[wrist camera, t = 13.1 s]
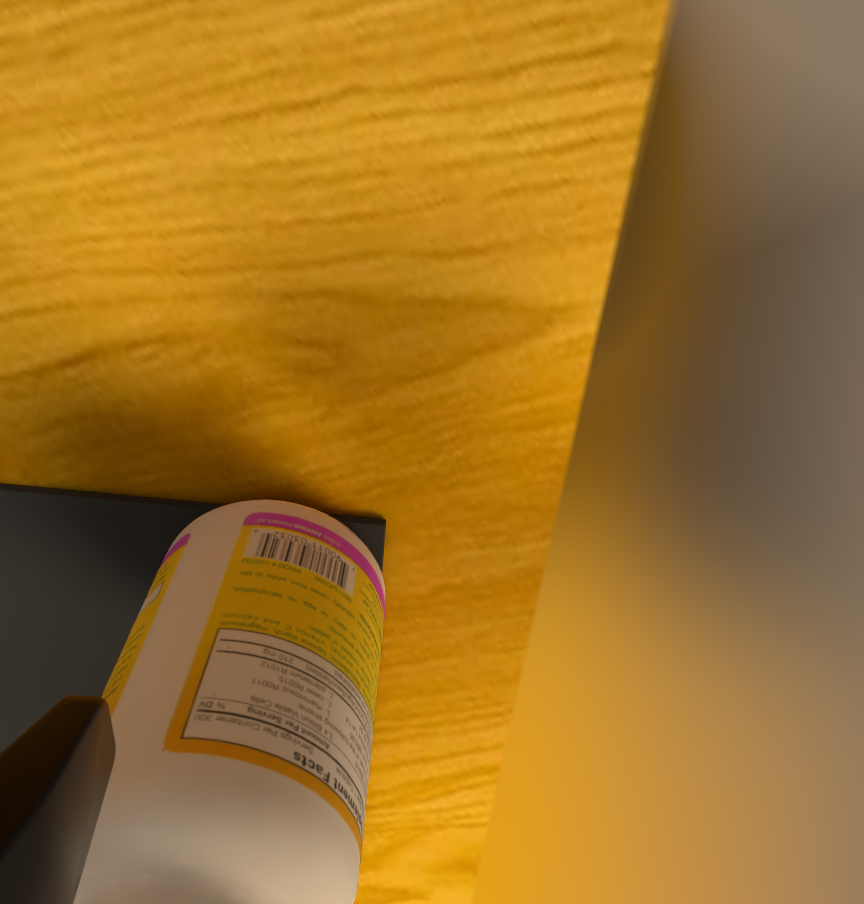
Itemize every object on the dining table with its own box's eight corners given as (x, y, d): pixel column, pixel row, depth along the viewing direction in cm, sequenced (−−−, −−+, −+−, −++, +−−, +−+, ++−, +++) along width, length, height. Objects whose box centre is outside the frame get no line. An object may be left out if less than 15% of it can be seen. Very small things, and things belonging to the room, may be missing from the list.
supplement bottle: (224, 670, 27) (67, 1164, 16) (129, 516, 24) (-148, 1012, 13) (418, 634, 26) (385, 1141, 15) (347, 465, 23) (240, 966, 12)
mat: (386, 519, 24) (385, 525, 24) (359, 865, 34) (358, 872, 33) (-242, 461, 24) (-250, 466, 23) (-84, 828, 33) (-88, 834, 33)
